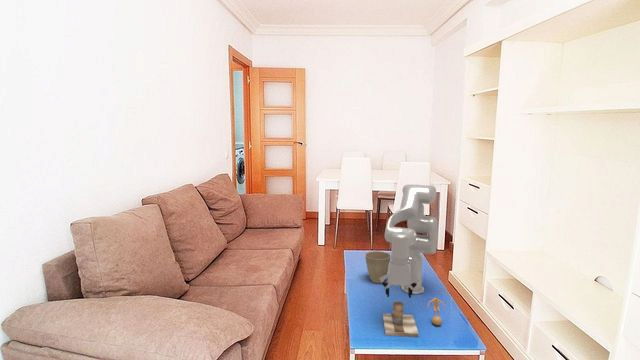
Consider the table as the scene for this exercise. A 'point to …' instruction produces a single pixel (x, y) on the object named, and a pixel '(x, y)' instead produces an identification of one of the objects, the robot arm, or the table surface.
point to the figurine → (435, 319)
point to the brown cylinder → (398, 313)
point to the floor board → (400, 326)
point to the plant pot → (377, 264)
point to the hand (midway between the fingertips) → (398, 296)
